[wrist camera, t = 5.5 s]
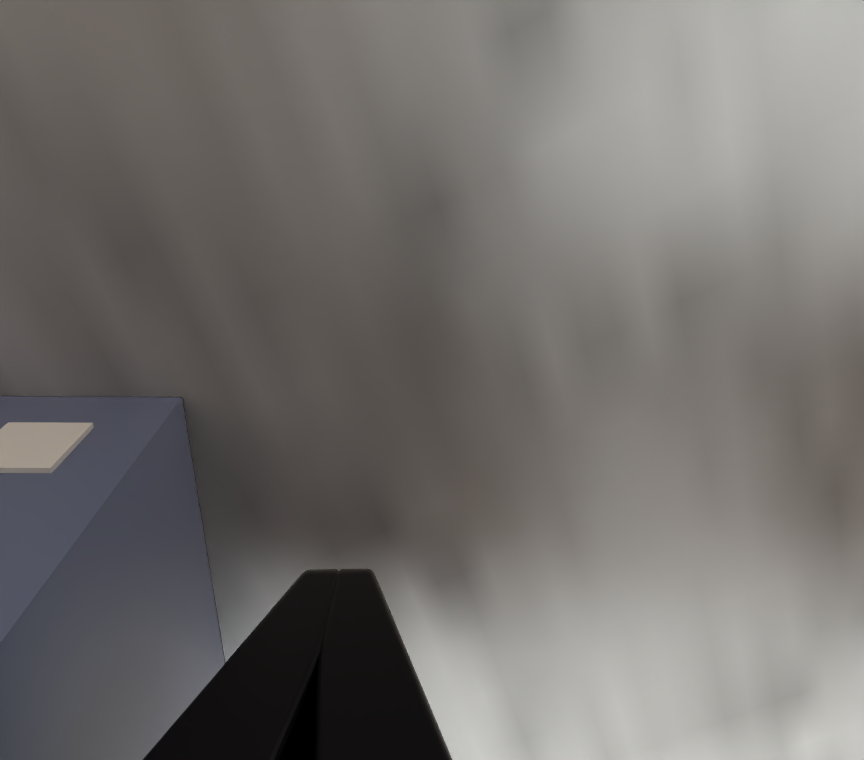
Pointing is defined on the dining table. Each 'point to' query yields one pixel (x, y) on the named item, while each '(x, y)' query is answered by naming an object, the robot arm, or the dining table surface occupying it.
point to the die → (99, 577)
